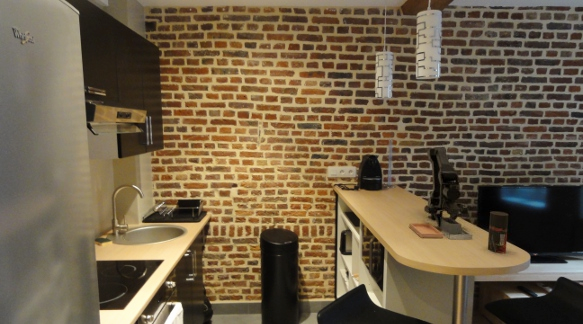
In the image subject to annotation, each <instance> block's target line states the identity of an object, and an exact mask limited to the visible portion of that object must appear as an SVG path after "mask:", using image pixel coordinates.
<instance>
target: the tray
mask: <svg viewBox="0 0 583 324" xmlns="http://www.w3.org/2000/svg"><path fill="white" fill-rule="evenodd" d="M408 225H409V226H408V227H409V228H410V229H411V230H412V231H413V232H414V233H415V234H416V235H417V236H419V237H420V239H443V238H444V235H443V233H441V231H440V230H438V229H437V228H436V227H434V226H433V225H432V224H430V223H428V222H427V223H425V222H423V223H419V222H417V223H416V222H414V223H413V222H410V223H408Z"/></svg>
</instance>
